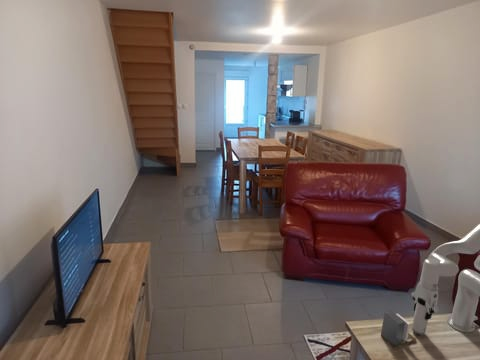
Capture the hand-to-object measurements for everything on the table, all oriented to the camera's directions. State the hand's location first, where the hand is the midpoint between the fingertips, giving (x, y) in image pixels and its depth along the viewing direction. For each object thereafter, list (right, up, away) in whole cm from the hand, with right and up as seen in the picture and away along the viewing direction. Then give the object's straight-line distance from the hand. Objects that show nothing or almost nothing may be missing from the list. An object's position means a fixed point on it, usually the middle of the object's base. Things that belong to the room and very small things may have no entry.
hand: (421, 314), depth 174 cm
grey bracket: (-13, -11, -1) cm, 17 cm away
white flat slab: (-12, -10, -2) cm, 16 cm away
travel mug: (0, -9, +3) cm, 10 cm away
